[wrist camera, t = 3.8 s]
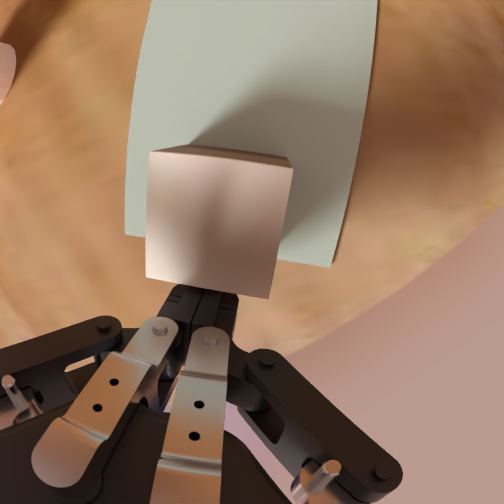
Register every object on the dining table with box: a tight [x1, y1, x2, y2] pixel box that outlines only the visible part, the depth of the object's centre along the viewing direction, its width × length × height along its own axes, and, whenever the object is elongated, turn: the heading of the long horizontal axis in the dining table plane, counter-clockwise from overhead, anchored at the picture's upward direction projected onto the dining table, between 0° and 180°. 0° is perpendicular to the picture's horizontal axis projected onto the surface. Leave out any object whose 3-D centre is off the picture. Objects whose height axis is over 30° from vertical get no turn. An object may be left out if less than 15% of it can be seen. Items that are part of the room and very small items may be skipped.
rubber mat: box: [125, 0, 377, 268], centre depth 13 cm, size 18×12×1 cm, turn 172°
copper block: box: [146, 144, 293, 299], centre depth 13 cm, size 5×5×5 cm
